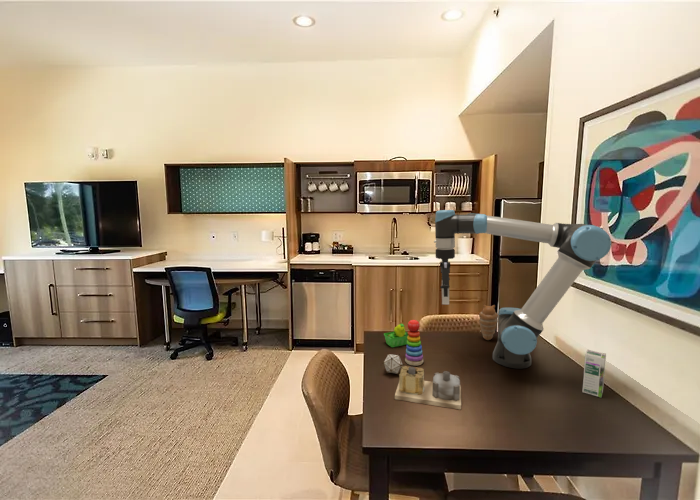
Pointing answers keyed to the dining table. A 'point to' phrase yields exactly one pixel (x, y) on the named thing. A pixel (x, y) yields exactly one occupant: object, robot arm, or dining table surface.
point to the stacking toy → (414, 345)
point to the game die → (393, 363)
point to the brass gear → (411, 381)
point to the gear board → (428, 397)
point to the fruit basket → (397, 336)
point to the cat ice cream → (488, 321)
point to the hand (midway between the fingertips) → (445, 299)
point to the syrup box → (594, 373)
